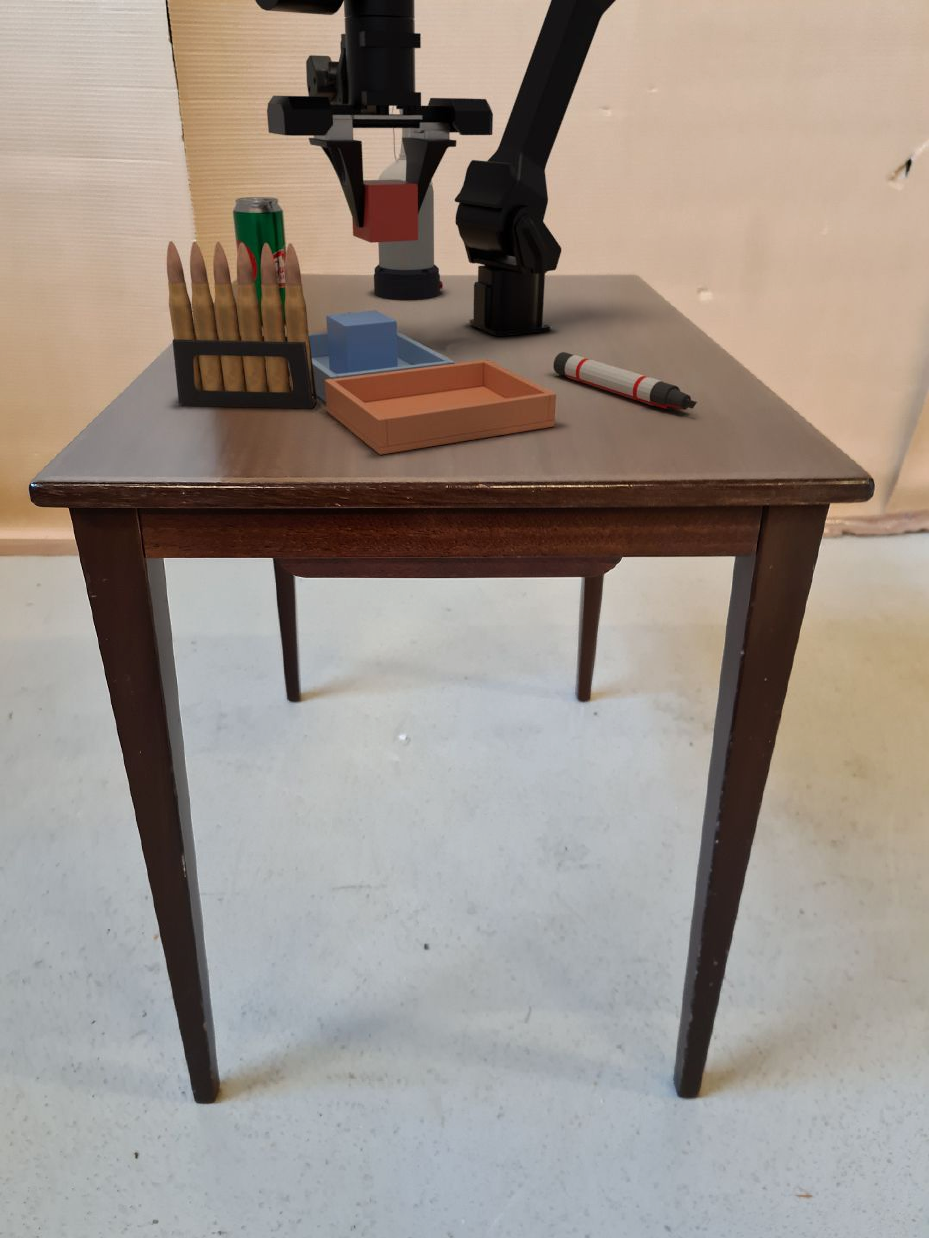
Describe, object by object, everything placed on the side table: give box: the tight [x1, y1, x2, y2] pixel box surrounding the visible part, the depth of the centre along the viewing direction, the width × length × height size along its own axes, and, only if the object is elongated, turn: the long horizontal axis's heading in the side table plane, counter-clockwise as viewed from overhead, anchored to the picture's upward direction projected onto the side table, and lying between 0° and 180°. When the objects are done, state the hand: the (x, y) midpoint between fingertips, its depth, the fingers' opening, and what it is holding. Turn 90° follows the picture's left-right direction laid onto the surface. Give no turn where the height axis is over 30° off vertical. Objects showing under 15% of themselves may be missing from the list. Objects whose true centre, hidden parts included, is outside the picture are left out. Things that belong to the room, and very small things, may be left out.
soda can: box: [232, 196, 287, 326], centre depth 94 cm, size 5×5×12 cm
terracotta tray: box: [325, 359, 557, 455], centre depth 68 cm, size 14×11×2 cm
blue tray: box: [286, 331, 456, 403], centre depth 78 cm, size 11×14×2 cm
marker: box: [552, 351, 698, 411], centre depth 74 cm, size 15×2×2 cm, turn 37°
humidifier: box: [373, 106, 443, 301], centre depth 105 cm, size 8×8×25 cm
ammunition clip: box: [166, 240, 318, 409], centre depth 69 cm, size 11×2×12 cm, turn 88°
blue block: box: [325, 310, 398, 374], centre depth 77 cm, size 5×5×5 cm
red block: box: [351, 179, 418, 244], centre depth 81 cm, size 5×5×5 cm
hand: (385, 226), depth 81 cm, fingers closed on red block, 4 cm apart
